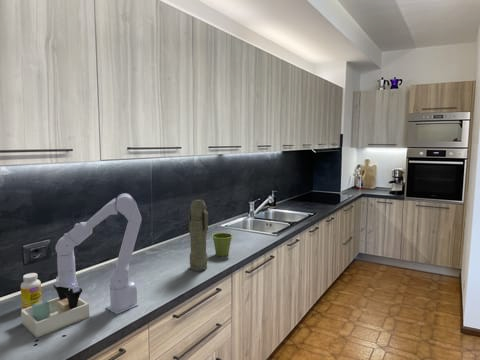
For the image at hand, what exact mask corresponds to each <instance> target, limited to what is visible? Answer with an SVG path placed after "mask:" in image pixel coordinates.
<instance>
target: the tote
mask: <svg viewBox="0 0 480 360" xmlns="http://www.w3.org/2000/svg"><path fill="white" fill-rule="evenodd" d="M46 301H47V302H49V310H50V317H49V318H46V319H44V320H41V321H38V322H37V321H36V320H35V319H34V318H33V310H32V306H31V307H28V308H25V309H22V308H21V310H20V317H21V319H20V320H21V324H22V325H23V326H24V327H25V328H26V329H27V330H28V331H29V332H30V333H31V334H32V335H33V336H34V337H35V338H37V339H38V338H41V337H43V336H46V335H48V334H50V333H53V332H55V331H57V330H60V329H63V328H65V327H68V326H70V325H72V324H75V323H78V322H80V321H83V320H85V319H88V318H90V303H89V302H86V301H85V300H84V299H82V298H81V297H79V299H78V307H76V308H73V309H71V310H68V311H65V312H63V313H60V314H58V303H57V301H60V299H59V296H58V297H56V298H52V299H50V300H46Z"/></svg>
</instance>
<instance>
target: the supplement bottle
mask: <svg viewBox="0 0 480 360" xmlns="http://www.w3.org/2000/svg"><path fill="white" fill-rule="evenodd" d="M22 279H23V282H21V284H20V295H21V296H20V299H21V300H20V302H21V310H22V309H25V308H28V307H31V306H33V305H34V304H35V303H38V302H42V301H43V299H42V282H41V280H40V279H38V273H36V272H29V273H26V274H24V275H23V277H22Z"/></svg>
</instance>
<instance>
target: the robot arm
mask: <svg viewBox="0 0 480 360" xmlns="http://www.w3.org/2000/svg"><path fill="white" fill-rule="evenodd" d="M138 207H139V206H138V204H137V202H136V200H135V199H134V197H133V196H132V195H131V194H129V193H127V192H126V193H125V192H124V193H121V194H118V196H117V197H115V198H112V200H110V201H109V202H108V203H106V204H105V205H104V206H103V207H102V208H101V209H100V210H98V211H96V212H95V214H94V215H93V216H91V217H90V218H89V219H88V220H87V221H80V222H79V223H78V222H76V223H75V224H74V226H73V228H72V229H70V230H69V231H68V232H65V233H64V234H63V236H62V237H60V238H59V239H58V240H57V242H56V244H55V252H56V255H57V257H56V260H57V261H56V264H57V276H55V280H56V283H55V284H54V285H53V288H54V289H55V291H56V293H57V295H58V297H59V299H60V300H63V299H66V298H67V299H68V303H69V308H70V309H73V308H76V307H77V303H78V299H79V298H80V296H81V294H82V292H83V288H81V287H80V285H78V284H79V283H78V280H77V276H76V275H77V273H76V257H75V247H76V246H79V245H81V243H83V242H84V241H85V240H86V239H87V238H88V237H90V236H91V235H92V234H93V229H94V228H95V227H96V226H97V225H99V224H100V223H101V222H104V220H105V219H107V218H108V217H109V216H110V215H112V216H113V215H118V213H120V214H121V215H123V216H124V217H125V219H126V221H127V225H126V228H125V230H124V231H125V232H124V236H123V238H122V242H121V247H120V250H119V254H118V256H117V259H116V260H115V261H116V262H115V264H114V266H113V267H112V269H111V270H110V284H109V298H110V299H109V300H110V302H109V303H110V304H109V305H106V306H105V308H106V309H107V310H109V311H111V312H112V313H114V314H116V315H118V314H121V313H123V312H125V311H127V310H130V309H133V308H135V307H138V306H139V303H138V292H137V291H138V289H137V285H136V284H135V282H134V281H131V280H130V281H129V271H130V263H131V259H132V256H133V252H134V249H135V246H136V245H135V244H136V242H137V237H138V234H139V230H140V227H141V225H142V215H141V213H140V210H139V208H138Z"/></svg>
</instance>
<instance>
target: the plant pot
mask: <svg viewBox="0 0 480 360" xmlns="http://www.w3.org/2000/svg"><path fill="white" fill-rule="evenodd" d="M211 237H212V240H213V244H214V251H215V255H216V256H217V257H220V256H221V257H227V256H229V253H230V249H231V248H230V246H231V241H232V237H233V234H232V233H228V232H215V233H213V234H211Z"/></svg>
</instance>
